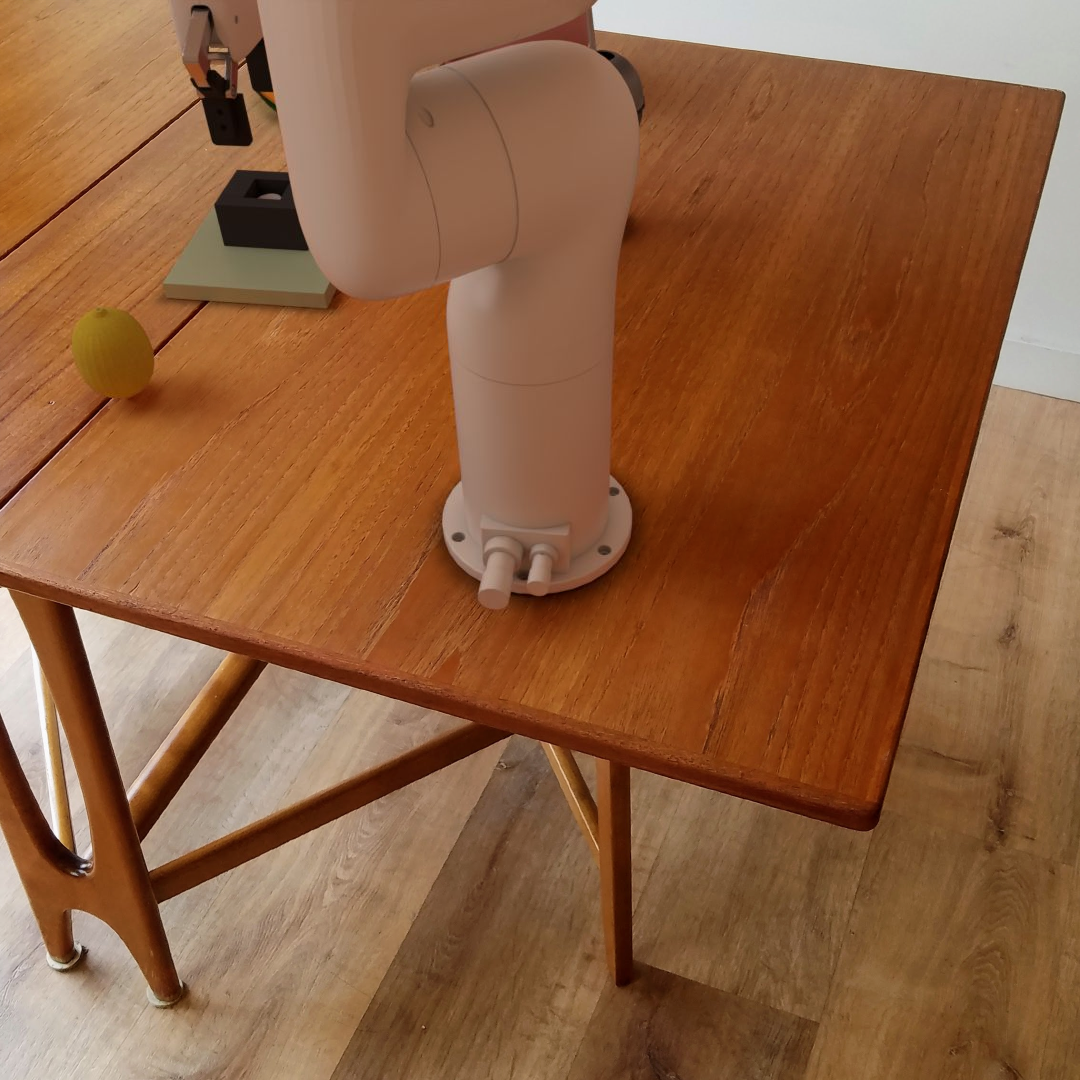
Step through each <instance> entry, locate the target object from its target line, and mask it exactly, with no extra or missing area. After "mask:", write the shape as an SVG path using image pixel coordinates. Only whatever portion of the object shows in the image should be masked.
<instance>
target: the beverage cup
mask: <svg viewBox="0 0 1080 1080" xmlns="http://www.w3.org/2000/svg"><path fill="white" fill-rule="evenodd" d="M593 16H594V13H593V6H592V7H591V8H590V9H589V10H587V11H586V18H587V27H588V37H589V45H588V47H589V48H590V49H592V50H595V51H596V52H597V53H599V54H600V55H602V56H603V57H605V58H606V59H607V60H608V61H610V62H611V63H612V65H613V66H614V67H615V68H616V69H617V70H618V72H619V73H620V74H621V76H622V77H623V79H624V81H625V82H626V84H627V86H628V88H629V90H630V93H631V95H632V97H633V101H634V104H635V107H636V111H637V115H638V122H639V129H640V127H641V123H642V119H643V112H644V109H645V108H646V99H645V96H644V89H643V82H642V80H641V76H640V75H639V73H638V71H637V69H636V68H635V67H634V65H633V64H632V63H631V62H630V60H629V59H628V58H626V57H625V56H623V55H622V54H620V53H618V52H616V51H613V50H607V49H597V43H596V34H595V25H594V24H595V23H594V17H593Z"/></svg>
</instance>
